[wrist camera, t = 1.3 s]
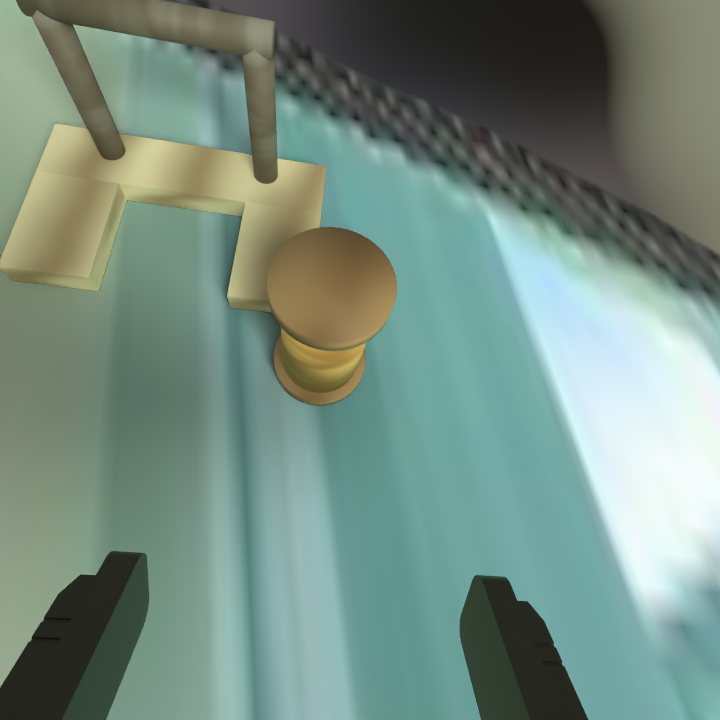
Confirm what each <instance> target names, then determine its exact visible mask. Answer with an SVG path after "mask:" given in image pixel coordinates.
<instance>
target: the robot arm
mask: <svg viewBox="0 0 720 720" xmlns="http://www.w3.org/2000/svg"><path fill="white" fill-rule="evenodd" d="M148 605H149V587H148V569H147V556H146V554H145V553H134V552H118V551H112V552H110V553H109V554H108V555H107V557H106V558H105V560H104V562H103V564H102V566H101V567H100V569H99V571H98V573H97V574H96V575H80V576H78V577H77V578H76V579H75V580H74V581H73V582H72V583H70V584H69V585H68V586H67V587H66V588H65V589H64V590H62V591H61V592H60V593H59V594H58V596H57V597H56V599H55V600H54V602H53V604H52V605H51V607H50V609H49V610H48V612H47V613H46V615H45V617H44V620H43V622H41V623H40V625H39V626H38V628H37V629H36V631H35V633H34V634H33V636H32V640H31V641H30V642H28V644H27V646H26V647H25V649H24V650H23V652H22V654H21V655H20V657H19V659H18V660H17V662H16V663H15V665H14V667H13V668H12V670H11V671H10V673H9V675H8V676H7V678H6V679H5V681H4V683H3V684H2V686H1V688H0V720H106V718H107V716H108V713H109V711H110V708H111V706H112V703H113V701H114V698H115V696H116V693H117V691H118V688H119V686H120V683H121V681H122V678H123V676H124V673H125V671H126V668H127V666H128V663H129V661H130V658H131V656H132V653H133V651H134V648H135V646H136V643H137V641H138V638H139V636H140V633H141V631H142V628H143V626H144V623H145V619H146V615H147V611H148ZM460 638H461V643H462V648H463V651H464V655H465V659H466V663H467V667H468V671H469V675H470V678H471V682H472V686H473V690H474V694H475V698H476V702H477V705H478V709H479V713H480V717H481V720H588V718H587V716H586V714H585V711H584V709H583V707H582V705H581V703H580V700H579V698H578V696H577V694H576V691H575V689H574V687H573V685H572V682H571V680H570V678H569V676H568V673H567V671H566V669H565V667H564V666H563V665H562V660H561V658H560V656H559V653H558V651H557V649H556V648H555V647H554V642H553V640H552V638H551V635H550V633H549V631H548V629H547V626H546V624H545V622H544V620H543V619H542V618H541V617H540V616H539V614H538V613H537V612H536V611H535V610H534V608H533V607H532V606H531V605H530V604H529V603H528V601H517V599H516V597H515V594H514V592H513V589H512V587H511V584H510V582H509V581H508V579H507V578H506V577H499V576H483V575H476V576H474V578H473V580H472V583H471V586H470V589H469V592H468V595H467V598H466V601H465V604H464V608H463V611H462V614H461V618H460Z"/></svg>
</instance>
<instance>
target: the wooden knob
mask: <svg viewBox="0 0 720 720" xmlns="http://www.w3.org/2000/svg"><path fill="white" fill-rule="evenodd" d="M267 291H268V301H269V305H270V309H271V311H272V314H273V316H274V318H275V319H276V321H277V323H278V324H279V325H280V327H281V335H280V336H279V338H278V340H277V342H276V345H275V349H274V368H275V373H276V376H277V379H278V381H279V383H280V384H281V386H282V387H283V389H284V390H285V391H286V392H287V393H288V394H289V395H291V396H292V397H293V398H295V399H297V400H299V401H301V402H303V403H306V404H310V405H329V404H333V403H336V402H339V401H341V400H343V399H344V398H346V397H347V396H349V395H350V394H351V393H352V392H353V391H354V389H355V388H356V387H357V385H358V384H359V382H360V380H361V377H362V375H363V373H364V369H365V364H366V354H365V349H364V348H365V345H366V343H367V341H369V340H371V339H372V338H373V337H374V336H375V335H377V334H378V333H379V331H380V330H381V329H382V328H383V326H384V325H385V323H386V322H387V320H388V317H389V315H390V313H391V311H392V308H393V306H394V303H395V300H396V294H397V281H396V276H395V272H394V269H393V267H392V265H391V263H390V261H389V259H388V258H387V256H386V255H385V254H384V252H383V251H382V250H381V249H380V248H379V247H378V246H377V245H376V244H375V243H373V242H372V241H371V240H369V239H368V238H366V237H364V236H362V235H360V234H358V233H356V232H353V231H350V230H347V229H342V228H335V227H321V228H314V229H310V230H306V231H304V232H301V233H299V234H297V235H295V236H293V237H292V238H290V239H289V240H287V241H286V242H285V243H284V244H283V245H282V246H281V247H280V248H279V249H278V250H277V252H276V253H275V255H274V256H273V258H272V260H271V263H270V265H269V269H268V273H267Z"/></svg>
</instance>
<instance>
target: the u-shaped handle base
mask: <svg viewBox="0 0 720 720" xmlns="http://www.w3.org/2000/svg"><path fill="white" fill-rule="evenodd" d="M16 1H17V4H18V6H19V8H20V10H21V11H22V12H23V13H24V14H25V15H26V16H30V17H32V18H33V20H34V22H35V24H36V26H37V28H38V30H39V32H40V34H41V36H42V38H43V40H44V42H45V44H46V46H47V48H48V50H49V52H50V54H51V56H52V58H53V60H54V62H55V65H56V67H57V69H58V71H59V73H60V75H61V77H62V79H63V81H64V83H65V85H66V87H67V89H68V91H69V93H70V95H71V97H72V99H73V101H74V103H75V105H76V107H77V109H78V111H79V113H80V115H81V117H82V119H83V121H84V123H85V125H86V127H87V128H80V127H74V126H68V125H61V124H55V126H54V128H53V130H52V133H51V135H50V138H49V140H48V143H47V145H46V148H45V150H44V153H43V155H42V158H41V160H40V163H39V165H38V168H37V170H36V172H35V175H34V177H33V180H32V182H31V185H30V187H29V190H28V192H27V195H26V197H25V200H24V202H23V205H22V207H21V209H20V212H19V214H18V217H17V219H16V222H15V224H14V227H13V229H12V232H11V234H10V237H9V239H8V242H7V244H6V246H5V249H4V251H3V254H2V256H1V259H0V269H1V270H2V271H3V272H4V273H5V274H6V275H7V276H8V277H9V278H10V279H11V280H13V281H20V282H28V283H36V284H44V285H52V286H61V287H69V288H77V289H85V290H93V291H99V289H100V286H101V282H102V279H103V276H104V273H105V269H106V266H107V263H108V260H109V256H110V253H111V250H112V247H113V243H114V240H115V237H116V234H117V230H118V227H119V224H120V221H121V217H122V214H123V211H124V208H125V204H126V201H127V200H131V201H138V202H145V203H152V204H159V205H166V206H173V207H180V208H187V209H194V210H201V211H207V212H214V213H221V214H228V215H235V216H242V221H241V227H240V232H239V237H238V242H237V247H236V252H235V257H234V263H233V268H232V273H231V278H230V283H229V288H228V293H227V297H228V301H229V305H230V307H231V308H239V309H247V310H255V311H263V312H271V313H272V311H271V309H270V305H269V301H268V291H267V273H268V269H269V265H270V263H271V260H272V258H273V256H274V255H275V253H276V252H277V250H278V249H279V248H280V247H281V246H282V245H283V244H284V243H285V242H286V241H287V240H289V239H290V238H292V237H293V236H295V235H297V234H299V233H301V232H304V231H306V230H310V229H314V228H320V220H321V211H322V203H323V195H324V187H325V177H326V167H327V166H321V165H315V164H308V163H302V162H296V161H289V160H283V159H277V133H276V104H275V74H274V51H275V22H274V21H269V20H263V19H258V18H253V17H248V16H242V15H237V14H232V13H226V12H221V11H216V10H210V9H205V8H200V7H195V6H189V5H184V4H179V3H173V2H168V1H163V0H16ZM73 24H74V25H80V26H86V27H91V28H97V29H102V30H108V31H113V32H119V33H124V34H130V35H136V36H141V37H147V38H152V39H158V40H163V41H169V42H175V43H180V44H186V45H191V46H197V47H202V48H208V49H214V50H219V51H225V52H230V53H236V54H241V55H242V60H243V70H244V80H245V90H246V100H247V110H248V120H249V130H250V140H251V150H252V155H251V154H245V153H239V152H232V151H226V150H220V149H213V148H207V147H201V146H194V145H188V144H182V143H175V142H169V141H163V140H156V139H150V138H144V137H137V136H131V135H125V134H119V132H118V130H117V128H116V125H115V123H114V121H113V118H112V116H111V114H110V111H109V109H108V106H107V104H106V102H105V99H104V97H103V95H102V92H101V90H100V88H99V85H98V83H97V81H96V78H95V76H94V74H93V71H92V69H91V67H90V64H89V62H88V59H87V57H86V55H85V52H84V50H83V48H82V45H81V43H80V41H79V38H78V36H77V34H76V31H75V29H74V27H73Z"/></svg>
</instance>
